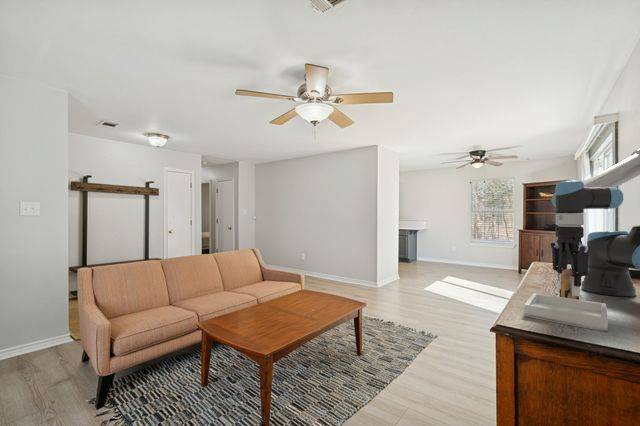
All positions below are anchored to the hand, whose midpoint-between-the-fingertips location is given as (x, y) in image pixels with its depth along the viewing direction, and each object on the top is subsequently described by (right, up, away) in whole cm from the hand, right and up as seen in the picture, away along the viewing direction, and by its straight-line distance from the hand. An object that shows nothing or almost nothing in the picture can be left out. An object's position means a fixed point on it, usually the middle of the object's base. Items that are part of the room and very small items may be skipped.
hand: (569, 293), depth 104 cm
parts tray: (-12, -3, -13) cm, 18 cm away
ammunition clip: (0, -3, 0) cm, 3 cm away
